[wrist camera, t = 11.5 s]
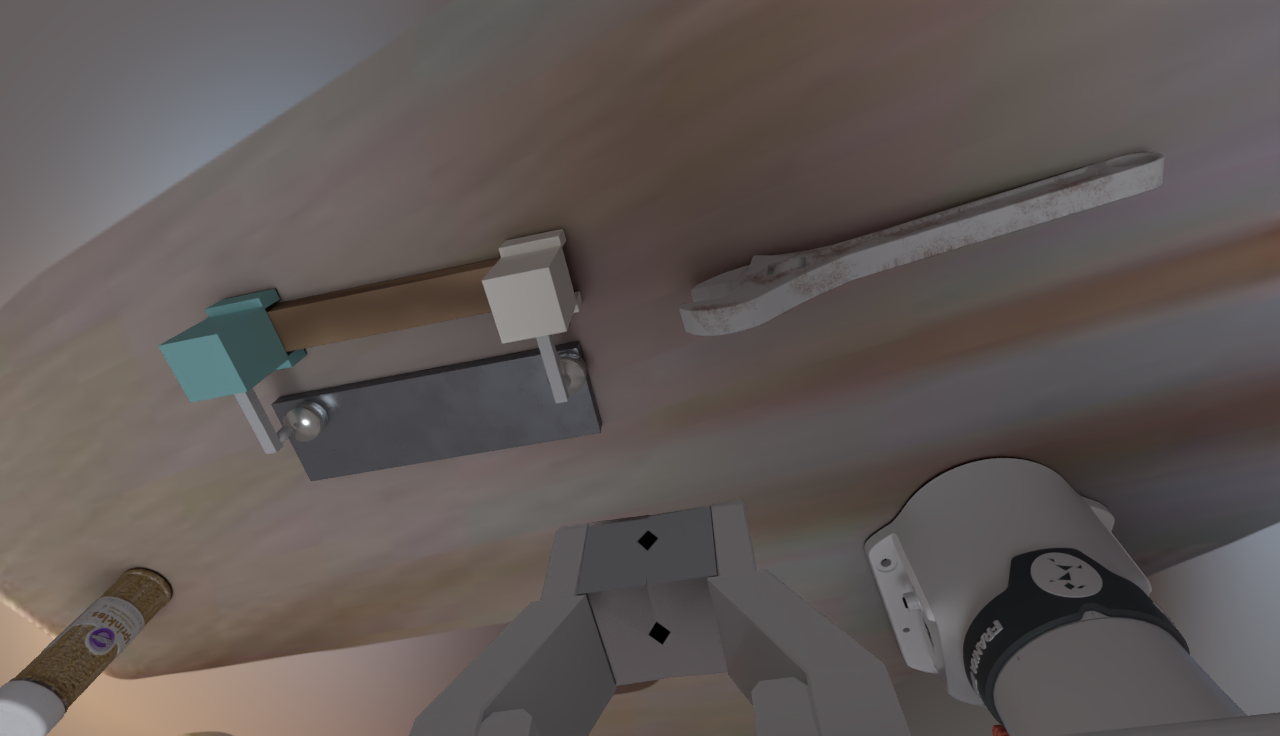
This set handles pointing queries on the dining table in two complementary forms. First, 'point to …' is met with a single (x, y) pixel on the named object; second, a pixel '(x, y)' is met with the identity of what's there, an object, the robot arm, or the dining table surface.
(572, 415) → the bolt plate
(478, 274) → the rail
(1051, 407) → the dining table surface
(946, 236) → the wrench
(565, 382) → the fixed leg
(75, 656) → the sprinkles bottle
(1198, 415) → the dining table surface
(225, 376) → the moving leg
